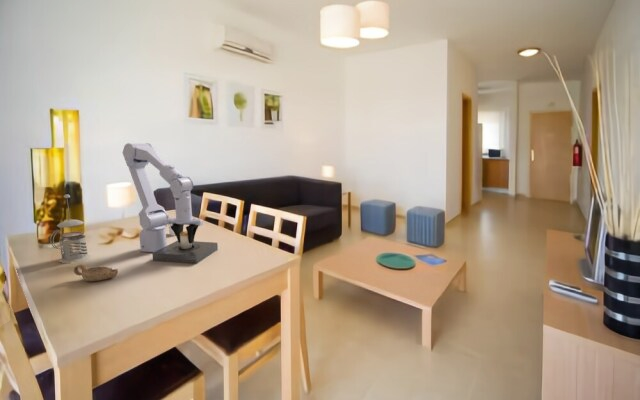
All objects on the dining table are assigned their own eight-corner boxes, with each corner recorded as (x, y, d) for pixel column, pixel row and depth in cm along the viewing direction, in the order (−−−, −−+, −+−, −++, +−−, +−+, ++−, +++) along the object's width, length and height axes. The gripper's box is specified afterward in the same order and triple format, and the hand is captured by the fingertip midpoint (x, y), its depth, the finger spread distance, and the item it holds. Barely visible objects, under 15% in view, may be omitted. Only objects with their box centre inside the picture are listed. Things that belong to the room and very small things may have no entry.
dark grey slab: (153, 260, 119) (152, 253, 119) (178, 247, 135) (177, 240, 134) (196, 263, 117) (196, 255, 116) (217, 249, 132) (217, 242, 132)
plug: (178, 248, 124) (177, 233, 122) (184, 245, 127) (183, 231, 126) (187, 249, 123) (186, 234, 122) (194, 246, 127) (193, 231, 126)
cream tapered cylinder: (187, 232, 157) (186, 219, 155) (176, 236, 150) (175, 222, 149) (176, 231, 159) (175, 218, 158) (165, 235, 153) (164, 221, 151)
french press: (96, 256, 124) (88, 193, 119) (62, 266, 113) (52, 198, 109) (82, 252, 128) (73, 191, 123) (47, 262, 118) (37, 196, 113)
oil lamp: (123, 274, 107) (122, 260, 106) (109, 284, 100) (107, 269, 99) (84, 274, 107) (83, 260, 106) (67, 284, 100) (65, 269, 99)
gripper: (159, 210, 120) (162, 244, 122) (195, 211, 117) (197, 246, 120) (171, 206, 127) (174, 239, 129) (204, 207, 124) (207, 240, 127)
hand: (186, 242), depth 125 cm, fingers closed on plug, 4 cm apart
